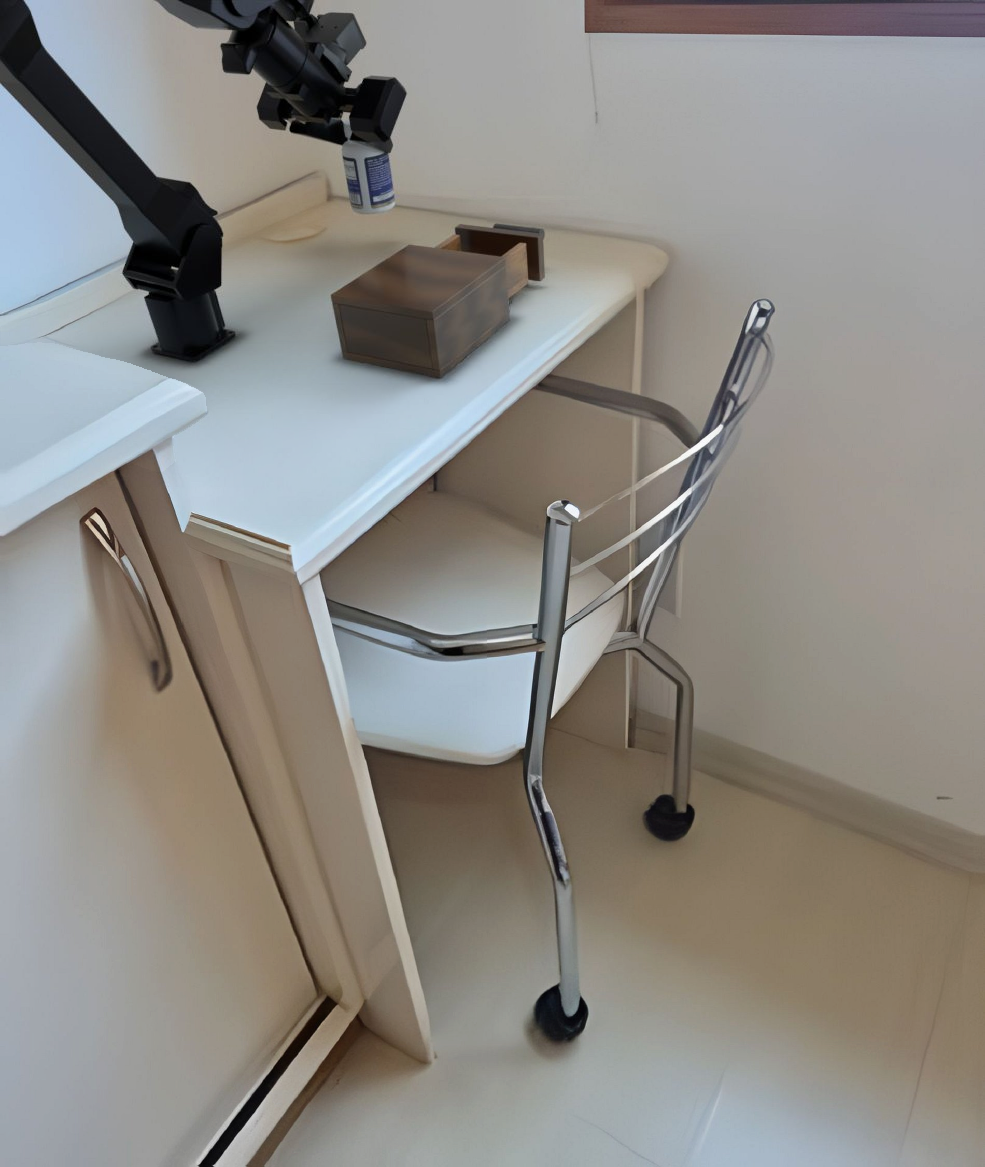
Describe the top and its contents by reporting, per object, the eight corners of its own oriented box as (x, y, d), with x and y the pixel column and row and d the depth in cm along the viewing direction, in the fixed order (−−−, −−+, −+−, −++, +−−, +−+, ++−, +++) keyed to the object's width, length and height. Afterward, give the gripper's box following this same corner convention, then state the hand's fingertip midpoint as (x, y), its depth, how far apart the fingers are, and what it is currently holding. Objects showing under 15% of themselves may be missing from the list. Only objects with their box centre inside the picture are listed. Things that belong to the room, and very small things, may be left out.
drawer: (484, 252, 109) (480, 210, 106) (563, 262, 105) (562, 219, 102) (403, 309, 98) (397, 265, 95) (488, 324, 94) (484, 278, 91)
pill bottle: (399, 199, 114) (387, 113, 108) (391, 214, 110) (379, 125, 104) (356, 201, 115) (342, 116, 109) (347, 216, 111) (332, 128, 105)
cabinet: (417, 304, 101) (409, 244, 97) (510, 320, 96) (505, 257, 92) (342, 358, 93) (330, 294, 88) (440, 378, 88) (432, 312, 83)
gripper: (381, -12, 91) (460, 87, 104) (251, -14, 100) (339, 77, 114) (340, 95, 91) (424, 180, 105) (214, 83, 100) (307, 163, 114)
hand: (372, 147), depth 109 cm, fingers closed on pill bottle, 5 cm apart
